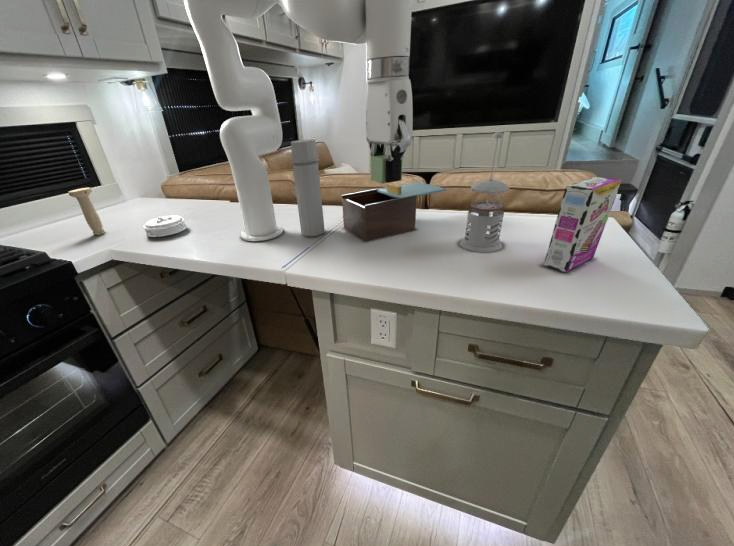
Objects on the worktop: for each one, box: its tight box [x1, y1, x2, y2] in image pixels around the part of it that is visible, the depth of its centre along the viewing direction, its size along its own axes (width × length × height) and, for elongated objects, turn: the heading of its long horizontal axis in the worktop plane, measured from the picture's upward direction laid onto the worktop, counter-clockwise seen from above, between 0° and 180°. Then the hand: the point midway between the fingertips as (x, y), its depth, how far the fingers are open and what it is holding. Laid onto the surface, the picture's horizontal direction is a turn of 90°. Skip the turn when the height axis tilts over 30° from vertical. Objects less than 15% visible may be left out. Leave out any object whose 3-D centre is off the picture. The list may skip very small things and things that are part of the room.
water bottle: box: [290, 138, 326, 238], centre depth 92 cm, size 9×8×25 cm
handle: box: [67, 187, 105, 236], centre depth 111 cm, size 5×6×15 cm
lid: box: [142, 214, 188, 238], centre depth 108 cm, size 13×13×5 cm
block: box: [370, 153, 403, 185], centre depth 67 cm, size 5×5×5 cm
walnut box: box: [341, 186, 418, 242], centre depth 95 cm, size 14×16×10 cm
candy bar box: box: [542, 176, 623, 273], centre depth 65 cm, size 11×5×16 cm, turn 123°
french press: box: [459, 131, 510, 253], centre depth 76 cm, size 10×12×25 cm
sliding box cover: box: [377, 181, 447, 199], centre depth 95 cm, size 13×15×3 cm
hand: (386, 178), depth 68 cm, fingers closed on block, 4 cm apart
